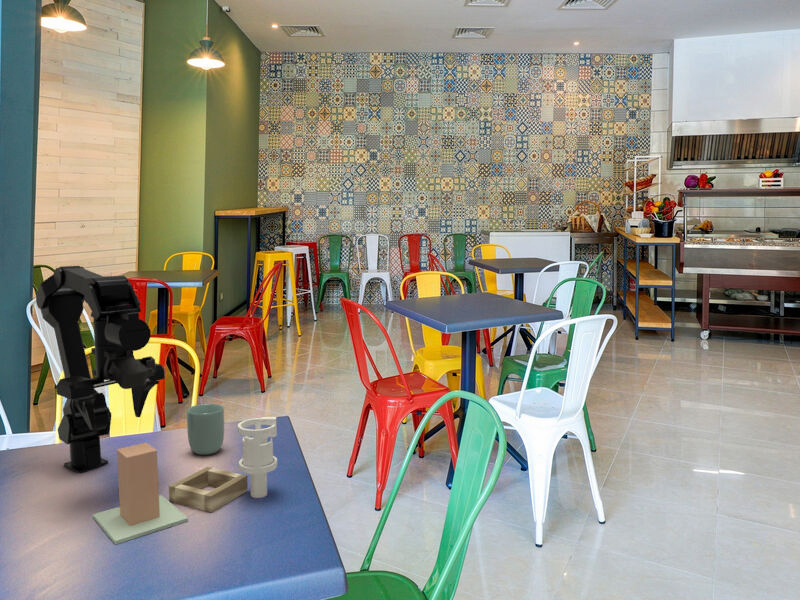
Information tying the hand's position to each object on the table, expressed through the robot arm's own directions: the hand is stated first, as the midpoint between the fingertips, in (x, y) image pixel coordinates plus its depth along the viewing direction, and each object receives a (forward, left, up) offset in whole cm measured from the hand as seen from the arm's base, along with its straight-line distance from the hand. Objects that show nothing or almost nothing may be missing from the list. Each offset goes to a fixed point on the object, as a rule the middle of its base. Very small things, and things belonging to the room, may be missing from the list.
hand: (115, 423), depth 120 cm
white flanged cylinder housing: (+24, +14, -13) cm, 31 cm away
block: (+15, -5, -12) cm, 20 cm away
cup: (-2, +22, -13) cm, 26 cm away
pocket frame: (+17, +8, -13) cm, 23 cm away
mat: (+15, -5, -13) cm, 20 cm away
